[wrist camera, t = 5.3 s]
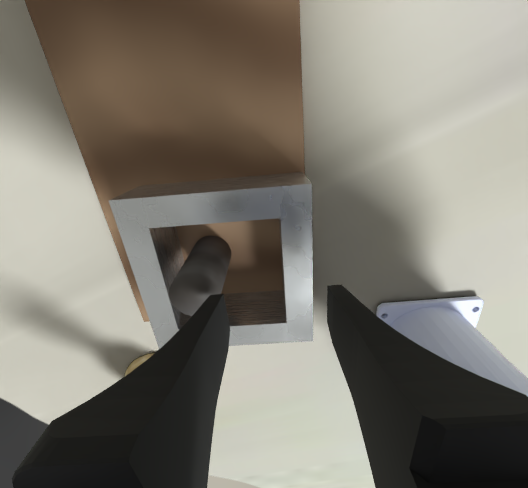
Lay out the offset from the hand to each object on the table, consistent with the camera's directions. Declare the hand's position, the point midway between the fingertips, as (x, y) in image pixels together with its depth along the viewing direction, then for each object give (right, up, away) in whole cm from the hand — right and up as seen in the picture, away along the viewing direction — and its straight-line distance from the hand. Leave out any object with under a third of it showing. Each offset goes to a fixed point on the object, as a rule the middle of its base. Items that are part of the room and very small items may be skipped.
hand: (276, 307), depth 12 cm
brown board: (-5, +8, +5) cm, 10 cm away
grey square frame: (-3, +2, +6) cm, 7 cm away
